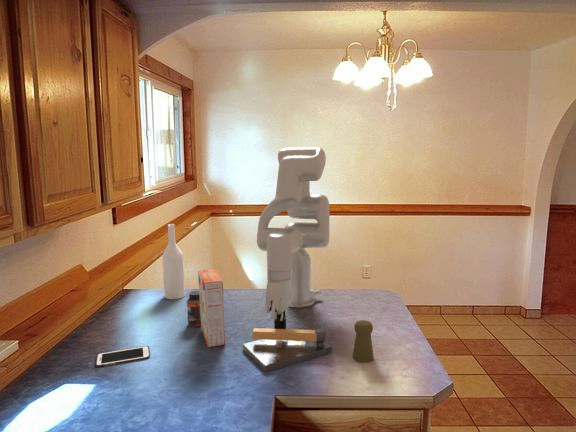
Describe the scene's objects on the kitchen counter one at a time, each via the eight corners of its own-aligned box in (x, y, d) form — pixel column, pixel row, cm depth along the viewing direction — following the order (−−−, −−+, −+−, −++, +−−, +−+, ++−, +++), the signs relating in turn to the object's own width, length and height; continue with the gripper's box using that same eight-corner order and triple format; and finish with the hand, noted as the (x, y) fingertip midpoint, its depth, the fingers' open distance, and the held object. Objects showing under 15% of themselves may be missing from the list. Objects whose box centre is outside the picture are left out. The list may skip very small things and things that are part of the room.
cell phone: (150, 359, 126) (150, 356, 126) (95, 369, 121) (94, 365, 121) (149, 348, 133) (148, 345, 133) (97, 356, 128) (96, 353, 128)
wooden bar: (325, 337, 130) (325, 329, 129) (325, 342, 127) (325, 333, 126) (254, 334, 132) (254, 326, 132) (252, 339, 129) (252, 331, 128)
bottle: (174, 300, 172) (170, 226, 167) (160, 297, 176) (156, 225, 172) (189, 294, 179) (185, 223, 174) (174, 291, 183) (171, 221, 178)
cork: (360, 365, 121) (361, 327, 119) (348, 355, 126) (348, 320, 125) (377, 359, 124) (378, 323, 122) (364, 351, 129) (365, 316, 127)
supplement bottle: (207, 320, 152) (206, 290, 151) (202, 327, 147) (201, 295, 145) (191, 320, 153) (189, 289, 151) (185, 327, 147) (183, 295, 145)
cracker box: (200, 330, 145) (197, 269, 141) (218, 327, 147) (215, 268, 143) (206, 348, 132) (203, 282, 128) (225, 345, 134) (223, 280, 130)
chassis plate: (305, 334, 141) (305, 323, 140) (331, 352, 128) (331, 341, 128) (243, 350, 130) (242, 339, 130) (265, 372, 117) (265, 360, 117)
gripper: (278, 266, 139) (279, 320, 142) (257, 279, 125) (258, 339, 128) (300, 268, 136) (300, 324, 139) (280, 282, 122) (281, 343, 125)
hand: (280, 331), depth 133 cm, fingers closed
